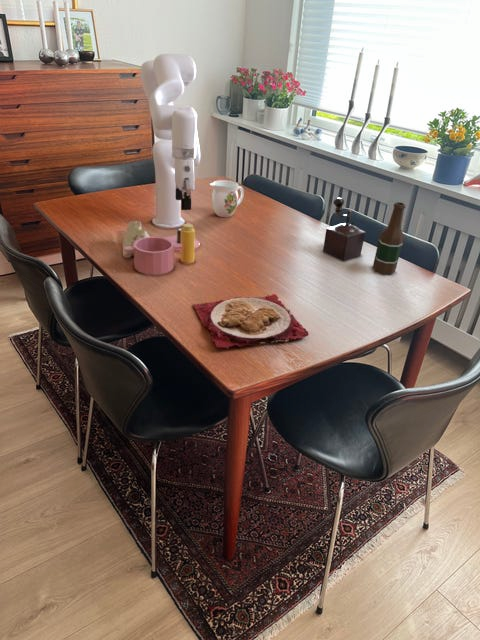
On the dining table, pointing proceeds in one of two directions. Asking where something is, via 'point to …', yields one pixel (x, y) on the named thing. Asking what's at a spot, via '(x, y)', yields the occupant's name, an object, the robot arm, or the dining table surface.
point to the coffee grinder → (343, 237)
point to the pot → (153, 255)
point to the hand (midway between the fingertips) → (183, 204)
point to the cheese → (133, 236)
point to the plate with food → (249, 321)
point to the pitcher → (226, 197)
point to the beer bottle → (390, 243)
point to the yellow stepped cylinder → (187, 243)
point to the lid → (177, 239)
